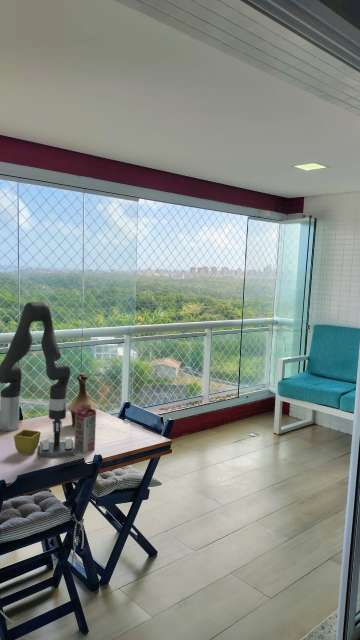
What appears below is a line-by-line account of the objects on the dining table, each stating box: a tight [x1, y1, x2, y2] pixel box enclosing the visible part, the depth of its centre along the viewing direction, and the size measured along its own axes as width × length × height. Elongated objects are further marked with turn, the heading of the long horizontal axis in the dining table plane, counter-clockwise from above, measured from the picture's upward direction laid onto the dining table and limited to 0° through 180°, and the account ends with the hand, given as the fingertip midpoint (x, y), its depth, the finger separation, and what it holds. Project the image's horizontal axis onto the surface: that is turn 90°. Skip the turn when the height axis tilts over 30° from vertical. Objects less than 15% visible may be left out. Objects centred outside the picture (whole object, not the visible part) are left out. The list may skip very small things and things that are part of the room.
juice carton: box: [73, 402, 97, 454], centre depth 226 cm, size 7×7×22 cm
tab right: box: [65, 437, 73, 449], centre depth 222 cm, size 3×2×4 cm
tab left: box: [42, 437, 50, 450], centre depth 220 cm, size 3×2×4 cm
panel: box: [39, 439, 75, 459], centre depth 225 cm, size 15×16×2 cm
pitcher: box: [66, 372, 100, 428], centre depth 262 cm, size 18×17×28 cm
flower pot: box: [13, 429, 42, 456], centre depth 220 cm, size 9×9×9 cm
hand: (56, 444), depth 223 cm, fingers closed
